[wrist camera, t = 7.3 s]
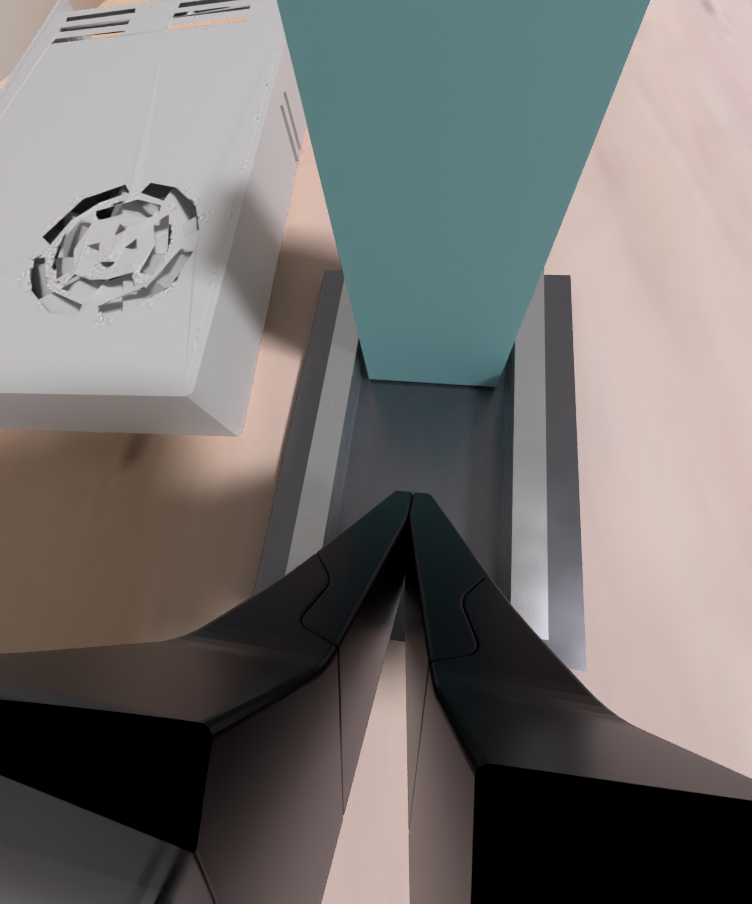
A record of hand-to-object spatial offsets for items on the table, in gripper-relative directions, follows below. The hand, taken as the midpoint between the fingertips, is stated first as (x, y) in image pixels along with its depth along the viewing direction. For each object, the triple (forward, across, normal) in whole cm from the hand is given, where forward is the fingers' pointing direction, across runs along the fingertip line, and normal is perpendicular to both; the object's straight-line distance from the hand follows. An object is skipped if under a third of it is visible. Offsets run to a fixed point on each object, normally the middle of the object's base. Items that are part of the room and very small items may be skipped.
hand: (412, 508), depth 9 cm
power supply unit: (+20, +19, -9) cm, 29 cm away
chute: (+9, 0, +2) cm, 9 cm away
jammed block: (+12, 0, -2) cm, 12 cm away
